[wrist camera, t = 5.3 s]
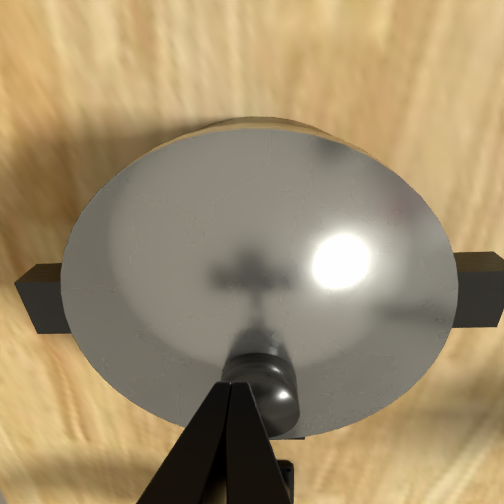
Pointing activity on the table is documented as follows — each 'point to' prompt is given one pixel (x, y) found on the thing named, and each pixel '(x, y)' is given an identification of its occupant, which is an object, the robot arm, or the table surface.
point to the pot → (467, 263)
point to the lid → (260, 278)
